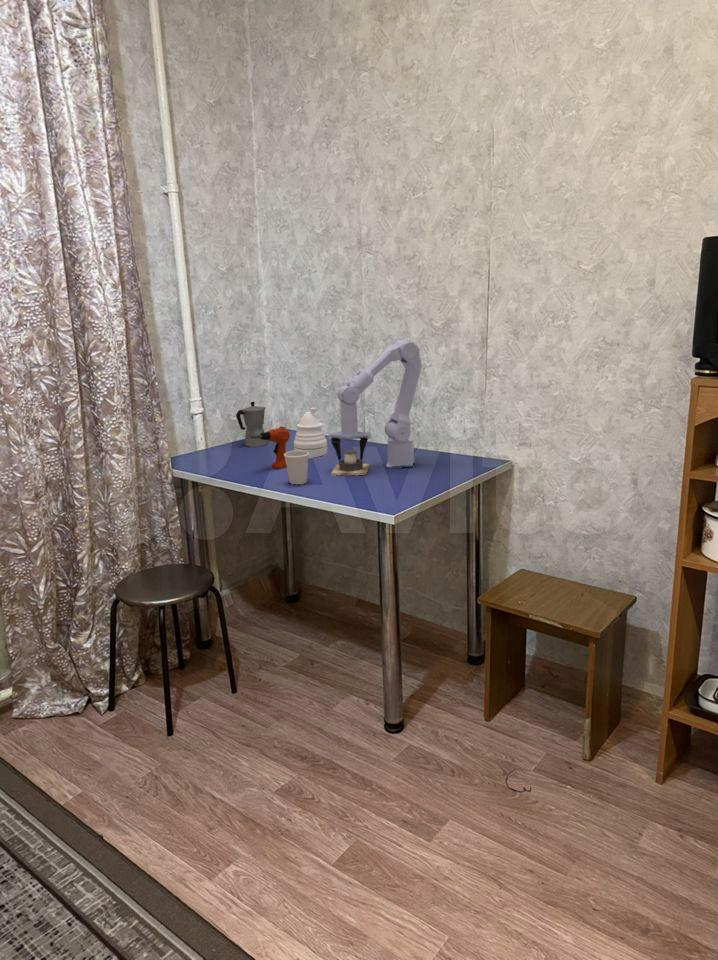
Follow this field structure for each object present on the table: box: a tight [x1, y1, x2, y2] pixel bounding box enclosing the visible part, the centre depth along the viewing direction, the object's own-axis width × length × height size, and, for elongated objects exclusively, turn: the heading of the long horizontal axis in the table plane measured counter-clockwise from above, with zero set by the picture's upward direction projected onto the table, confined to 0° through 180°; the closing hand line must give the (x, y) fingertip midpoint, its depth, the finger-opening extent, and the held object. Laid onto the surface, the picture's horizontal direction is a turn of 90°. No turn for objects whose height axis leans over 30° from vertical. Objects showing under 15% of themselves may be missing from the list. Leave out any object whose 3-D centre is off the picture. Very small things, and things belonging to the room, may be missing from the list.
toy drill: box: [250, 426, 291, 470], centre depth 250 cm, size 5×19×15 cm, turn 141°
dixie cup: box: [284, 450, 309, 486], centre depth 233 cm, size 8×8×10 cm
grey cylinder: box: [343, 449, 358, 464], centre depth 244 cm, size 4×4×6 cm
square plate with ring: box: [330, 458, 371, 477], centre depth 245 cm, size 12×12×4 cm
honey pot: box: [293, 407, 328, 459], centre depth 269 cm, size 13×13×18 cm
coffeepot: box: [235, 401, 268, 448], centre depth 288 cm, size 15×9×18 cm, turn 139°
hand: (350, 459), depth 244 cm, fingers open, 7 cm apart
